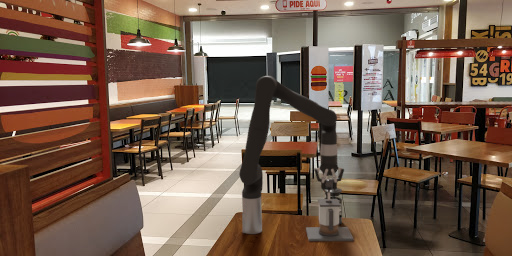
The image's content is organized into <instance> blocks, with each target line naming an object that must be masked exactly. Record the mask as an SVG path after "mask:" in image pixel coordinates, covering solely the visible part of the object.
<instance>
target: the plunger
mask: <svg viewBox="0 0 512 256" xmlns="http://www.w3.org/2000/svg"><path fill="white" fill-rule="evenodd" d="M324 183H325V189H327V190H328V196H327V197H328V203H330V197H331V196H330V190H332V189H334V180H333V179H329V178H325V181H324Z"/></svg>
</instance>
